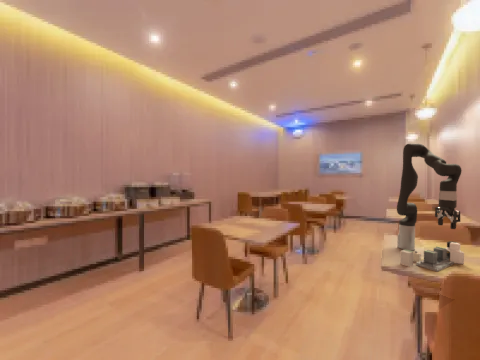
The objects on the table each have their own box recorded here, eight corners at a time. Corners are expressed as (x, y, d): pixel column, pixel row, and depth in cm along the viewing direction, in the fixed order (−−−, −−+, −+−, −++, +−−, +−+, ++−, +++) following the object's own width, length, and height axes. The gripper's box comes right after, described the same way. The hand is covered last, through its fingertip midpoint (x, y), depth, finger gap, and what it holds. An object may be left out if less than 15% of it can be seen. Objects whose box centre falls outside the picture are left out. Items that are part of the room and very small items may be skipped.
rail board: (415, 265, 132) (416, 250, 132) (433, 258, 143) (433, 244, 142) (437, 271, 123) (437, 255, 123) (453, 264, 134) (454, 249, 134)
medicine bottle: (442, 258, 142) (443, 240, 142) (456, 259, 140) (457, 241, 140) (449, 262, 136) (450, 243, 135) (464, 264, 134) (464, 244, 133)
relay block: (411, 260, 139) (411, 251, 139) (412, 258, 142) (412, 249, 142) (419, 262, 136) (419, 253, 136) (420, 260, 139) (420, 251, 139)
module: (400, 264, 134) (400, 250, 134) (404, 262, 136) (405, 249, 136) (408, 266, 130) (409, 252, 130) (413, 265, 132) (413, 251, 132)
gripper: (430, 197, 134) (430, 224, 135) (451, 200, 120) (450, 230, 121) (444, 197, 134) (443, 224, 134) (466, 200, 120) (465, 230, 120)
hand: (446, 227), depth 128 cm, fingers open, 8 cm apart
